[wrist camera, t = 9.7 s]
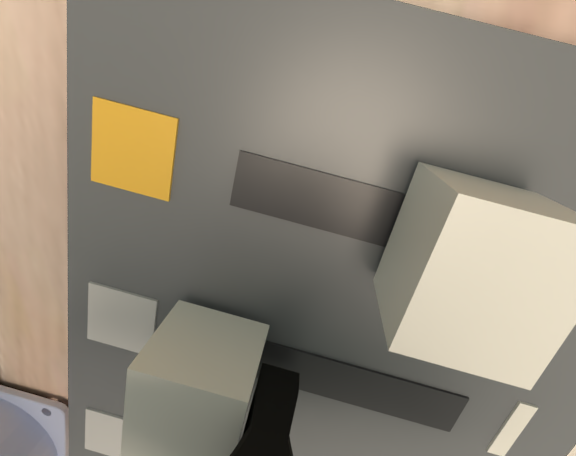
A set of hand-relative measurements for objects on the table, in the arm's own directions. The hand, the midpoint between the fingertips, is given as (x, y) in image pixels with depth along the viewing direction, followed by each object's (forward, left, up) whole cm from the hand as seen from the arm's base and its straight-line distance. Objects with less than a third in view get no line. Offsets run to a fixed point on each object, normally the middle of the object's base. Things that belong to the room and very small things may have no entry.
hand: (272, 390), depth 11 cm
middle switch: (-2, 0, -1) cm, 2 cm away
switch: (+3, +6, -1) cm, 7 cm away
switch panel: (+1, 0, -4) cm, 4 cm away
